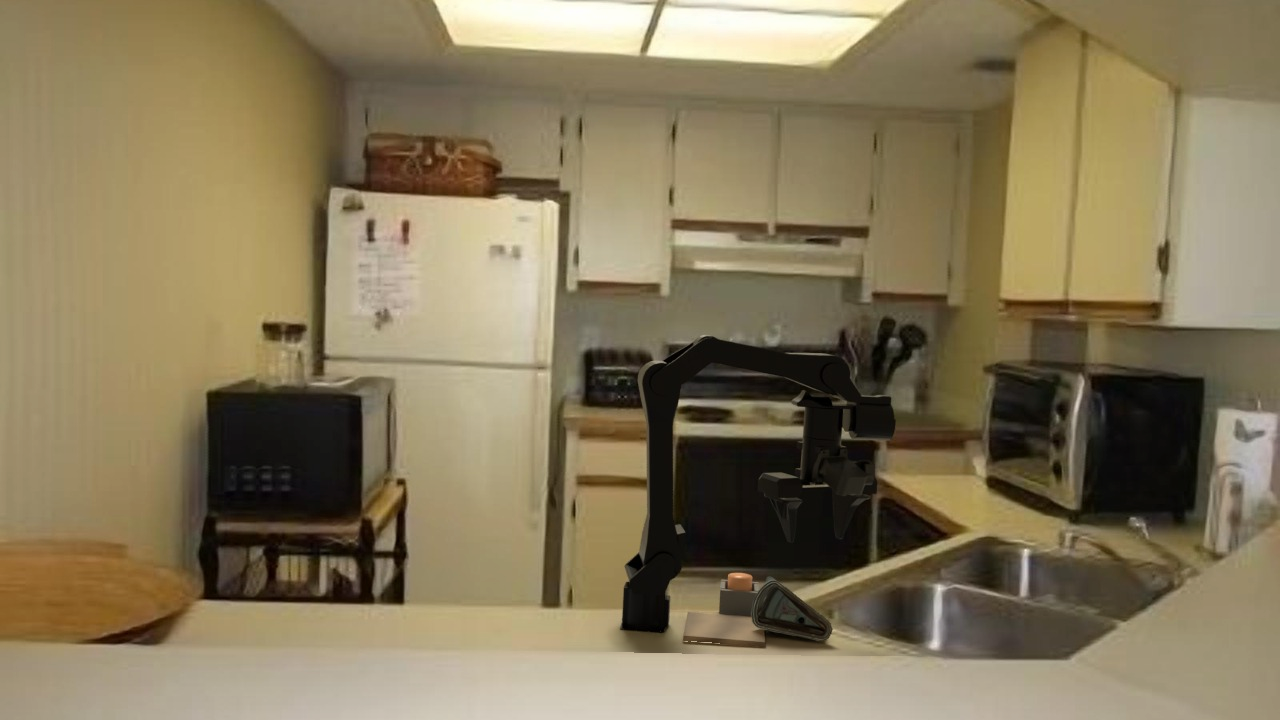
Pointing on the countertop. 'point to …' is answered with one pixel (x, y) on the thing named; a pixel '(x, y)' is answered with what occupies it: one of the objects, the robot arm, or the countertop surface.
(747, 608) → the housing
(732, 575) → the brown egg
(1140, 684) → the countertop surface
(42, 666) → the countertop surface
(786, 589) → the chocolate cake
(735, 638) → the serving board
